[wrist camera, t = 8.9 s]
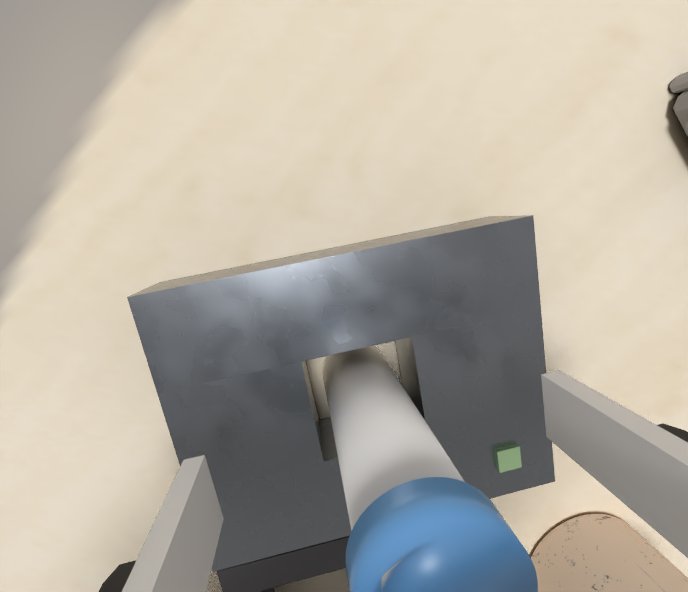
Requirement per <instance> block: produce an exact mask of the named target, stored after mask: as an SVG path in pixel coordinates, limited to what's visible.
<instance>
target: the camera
mask: <svg viewBox="0 0 688 592" xmlns="http://www.w3.org/2000/svg"><path fill="white" fill-rule="evenodd" d="M669 87H670V89H671V91H672V92H673V93H679V92H682V91H684V92H683V93H682V94H680V95H679V96H678V98H677V100H676V102H675V104H674V107H673V109H674V111H675V113H676V115H677V117H678V119H679V121H680V123H681V125H682V127H683V129H684V131H685V133H686V135H687V137H688V72H686V73H684V74H681V75H679V76H678V77H676V78H675V79H674V80H673V81H672V82H671V84H670V86H669Z"/></svg>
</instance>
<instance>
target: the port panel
mask: <svg viewBox="0 0 688 592" xmlns="http://www.w3.org/2000/svg"><path fill="white" fill-rule="evenodd" d="M127 298H128V301H129V304H130V308H131V311H132V314H133V317H134V320H135V323H136V327H137V330H138V333H139V336H140V339H141V343H142V346H143V349H144V352H145V355H146V358H147V362H148V365H149V368H150V371H151V374H152V378H153V381H154V384H155V387H156V390H157V394H158V397H159V400H160V403H161V406H162V409H163V413H164V416H165V419H166V422H167V425H168V429H169V432H170V435H171V438H172V441H173V444H174V448H175V451H176V454H177V457H178V460H179V464H180V466H181V464H182V462H183V460H185V459H189V458H193V457H198V456H202V455H205V458H206V461H207V464H208V468H209V471H210V474H211V478H212V481H213V484H214V488H215V491H216V495H217V498H218V501H219V505H220V508H221V511H222V515H223V518H224V519H223V523H222V527H221V532H220V536H219V540H218V544H217V548H216V552H215V557H214V561H213V565H212V569H213V572H214V571H217V570H221V569H225V568H229V567H233V566H236V565H240V564H244V563H248V562H251V561H255V560H259V559H263V558H267V557H270V556H274V555H278V554H282V553H285V552H289V551H293V550H297V549H301V548H304V547H308V546H312V545H316V544H320V543H323V542H327V541H331V540H335V539H338V538H342V537H346V536H350V533H351V526H350V520H349V515H348V509H347V504H346V498H345V493H344V488H343V482H342V477H341V471H340V466H339V460H338V455H337V449H336V444H335V438H334V433H333V428H332V422H331V417H330V418H325V419H321V420H319V419H318V414H317V410H316V405H315V401H314V396H313V392H312V387H311V382H310V378H309V373H308V369H307V364H306V360H310V359H315V358H319V357H324V356H328V355H333V354H337V353H342V352H346V351H351V350H355V349H360V348H364V347H369V346H373V345H378V344H382V343H387V342H391V341H395V343H396V349H397V355H398V361H399V367H400V373H401V379H402V385H403V388H404V389H405V391H406V392H407V394H408V396H409V397H410V399H411V400H412V402H413V403H414V405H415V406H416V408H417V409H418V411H419V412H420V414H421V415H422V417H423V418H424V420H425V422H426V423H427V425H428V426H429V428H430V429H431V431H432V432H433V434H434V435H435V437H436V438H437V440H438V441H439V443H440V444H441V446H442V448H443V449H444V451H445V452H446V454H447V455H448V457H449V458H450V460H451V461H452V463H453V464H454V466H455V467H456V469H457V470H458V472H459V474H460V475H461V477H462V478H463V480H464V481H465V482H466V483H468V484H470V485H472V486H474V487H476V488H477V489H479V490H480V491H482V492H483V493H484V494H485V495H486V496H487V497H488V498H489V499H490V498H494V497H497V496H501V495H505V494H509V493H513V492H516V491H520V490H524V489H528V488H531V487H535V486H539V485H543V484H547V483H550V482H554V481H555V476H554V464H553V451H552V441H551V440H550V439H548V438H547V437H546V426H545V415H544V403H543V391H542V379H541V374H545V373H546V366H545V354H544V342H543V330H542V317H541V305H540V293H539V281H538V269H537V257H536V244H535V232H534V220H533V216H492V217H485V218H480V219H475V220H470V221H465V222H460V223H455V224H450V225H445V226H440V227H435V228H430V229H425V230H420V231H415V232H410V233H405V234H400V235H395V236H390V237H385V238H380V239H375V240H370V241H365V242H360V243H355V244H350V245H345V246H340V247H335V248H330V249H325V250H320V251H315V252H310V253H305V254H300V255H295V256H290V257H285V258H280V259H275V260H270V261H265V262H260V263H255V264H250V265H245V266H240V267H235V268H230V269H224V270H219V271H214V272H209V273H204V274H199V275H194V276H189V277H184V278H179V279H174V280H169V281H164V282H160V283H158V284H155V285H153V286H151V287H149V288H146V289H144V290H142V291H140V292H138V293H135V294H133V295H131V296H129V297H127Z"/></svg>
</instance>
